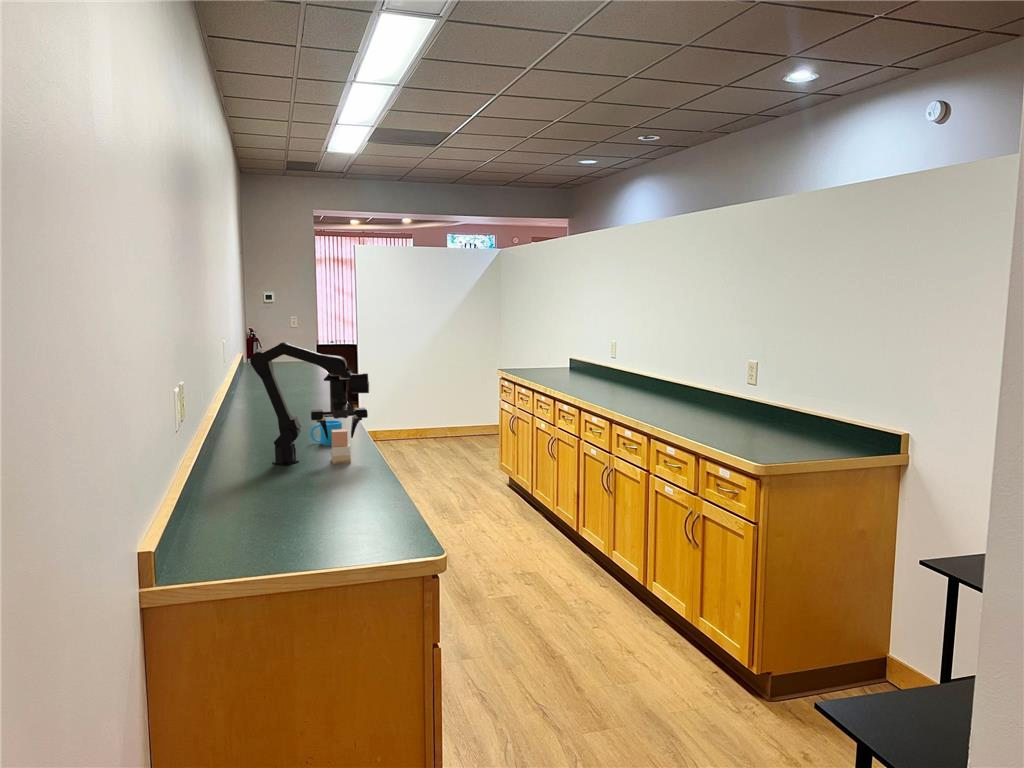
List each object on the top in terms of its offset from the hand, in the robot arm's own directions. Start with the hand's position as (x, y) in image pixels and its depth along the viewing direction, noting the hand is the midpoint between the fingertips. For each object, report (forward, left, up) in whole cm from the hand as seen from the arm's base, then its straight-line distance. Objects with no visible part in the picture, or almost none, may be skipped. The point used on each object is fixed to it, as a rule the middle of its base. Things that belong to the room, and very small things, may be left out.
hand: (339, 438), depth 256 cm
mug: (+22, +25, -8) cm, 34 cm away
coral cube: (0, 0, -2) cm, 2 cm away
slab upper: (0, 0, -5) cm, 5 cm away
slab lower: (0, 0, -8) cm, 8 cm away
